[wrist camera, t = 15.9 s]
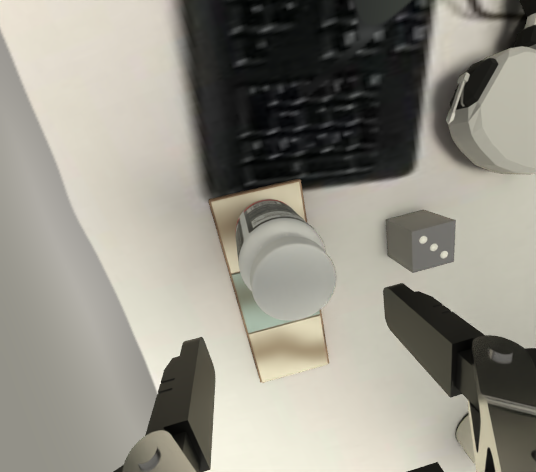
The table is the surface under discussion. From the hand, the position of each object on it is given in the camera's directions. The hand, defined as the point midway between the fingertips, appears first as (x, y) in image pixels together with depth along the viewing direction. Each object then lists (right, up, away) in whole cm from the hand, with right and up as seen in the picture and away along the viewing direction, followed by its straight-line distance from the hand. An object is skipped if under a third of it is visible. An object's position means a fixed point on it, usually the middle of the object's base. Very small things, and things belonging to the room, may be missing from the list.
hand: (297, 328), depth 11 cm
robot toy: (+20, +18, +12) cm, 29 cm away
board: (0, -1, +15) cm, 15 cm away
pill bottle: (-1, +5, +12) cm, 13 cm away
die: (+13, +4, +15) cm, 20 cm away
